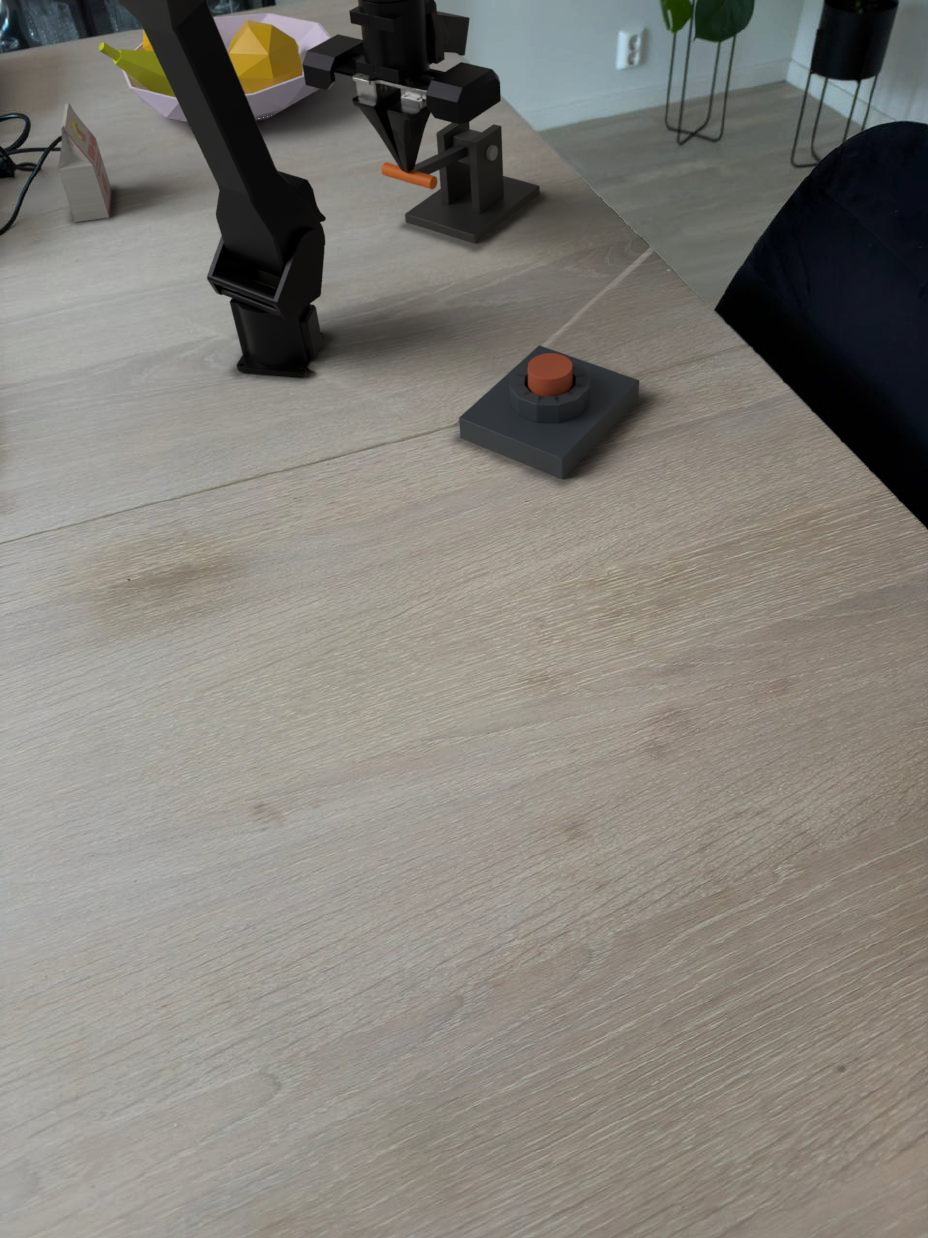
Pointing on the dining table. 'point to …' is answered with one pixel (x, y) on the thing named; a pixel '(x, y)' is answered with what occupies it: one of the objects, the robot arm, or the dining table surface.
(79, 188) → the small milk carton
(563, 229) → the dining table surface
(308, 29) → the fruit bowl
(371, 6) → the robot arm
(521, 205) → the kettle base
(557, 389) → the button
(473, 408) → the socket block
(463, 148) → the switch lever
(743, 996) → the dining table surface
